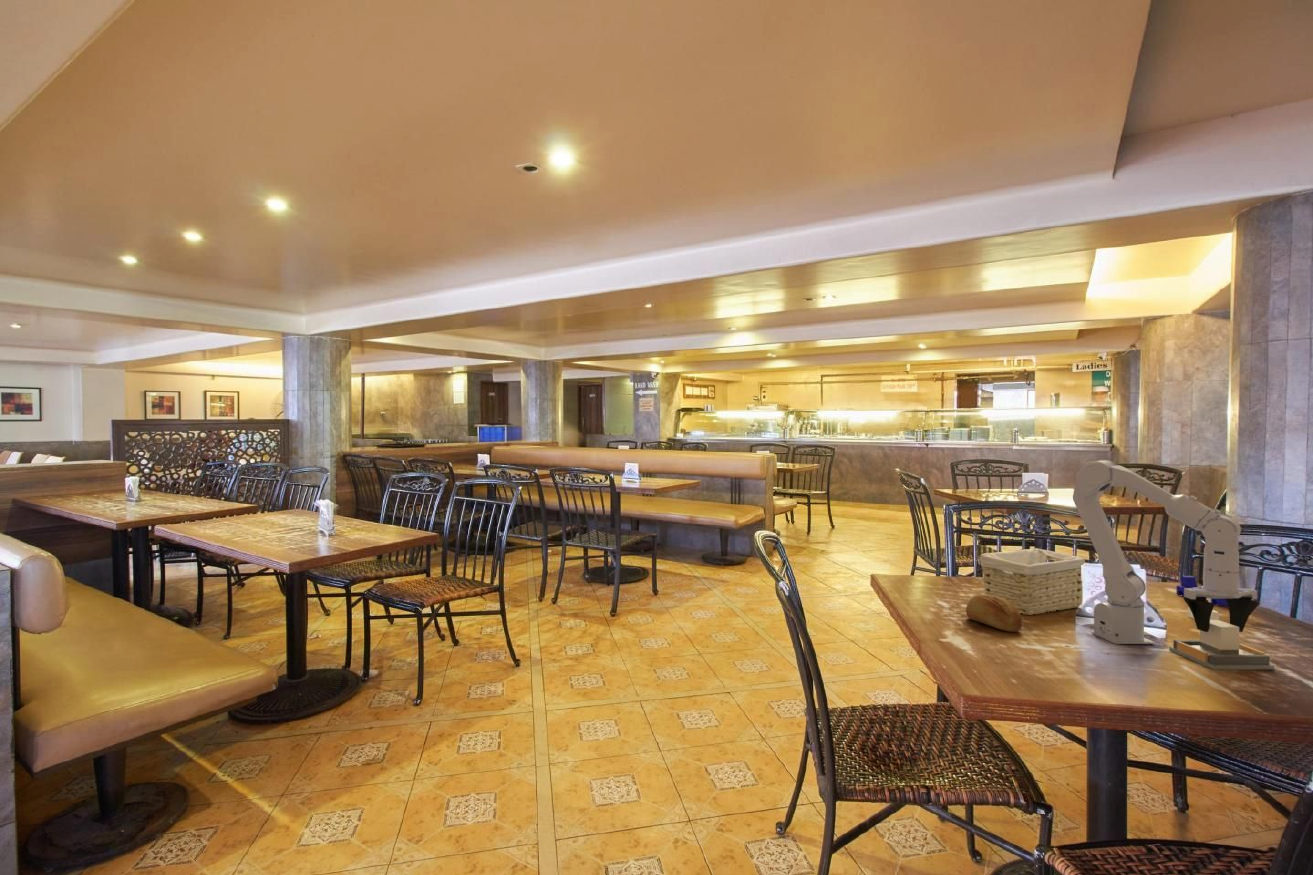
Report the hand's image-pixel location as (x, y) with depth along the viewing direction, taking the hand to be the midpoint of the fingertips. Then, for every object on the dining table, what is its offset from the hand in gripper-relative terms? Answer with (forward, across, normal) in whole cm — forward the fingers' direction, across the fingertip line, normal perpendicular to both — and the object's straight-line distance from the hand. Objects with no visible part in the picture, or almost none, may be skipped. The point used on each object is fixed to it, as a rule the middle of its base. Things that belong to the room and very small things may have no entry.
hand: (1219, 630), depth 133 cm
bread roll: (+7, -38, +23) cm, 45 cm away
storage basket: (+7, -16, +41) cm, 45 cm away
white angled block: (+7, +21, +27) cm, 35 cm away
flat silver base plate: (+5, 0, 0) cm, 6 cm away
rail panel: (+6, 0, 0) cm, 7 cm away
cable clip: (+7, +38, +45) cm, 59 cm away
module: (+4, 0, 0) cm, 5 cm away
